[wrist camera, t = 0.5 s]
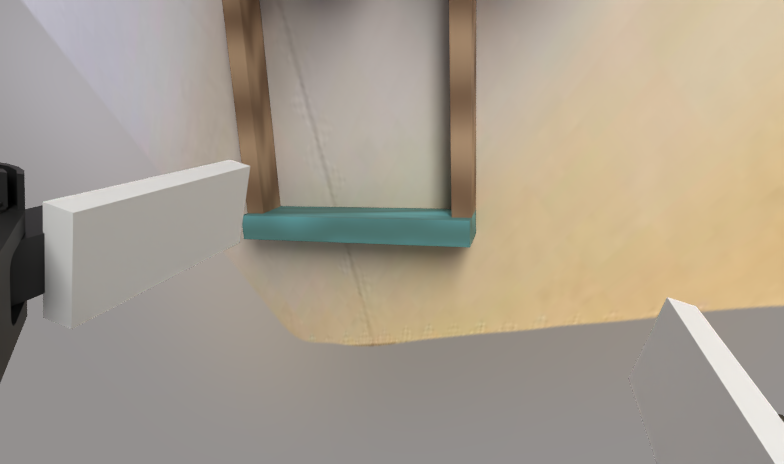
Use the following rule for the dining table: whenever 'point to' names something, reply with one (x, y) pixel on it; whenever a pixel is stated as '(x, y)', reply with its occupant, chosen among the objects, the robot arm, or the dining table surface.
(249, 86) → the u-shaped wooden frame
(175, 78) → the dining table surface
